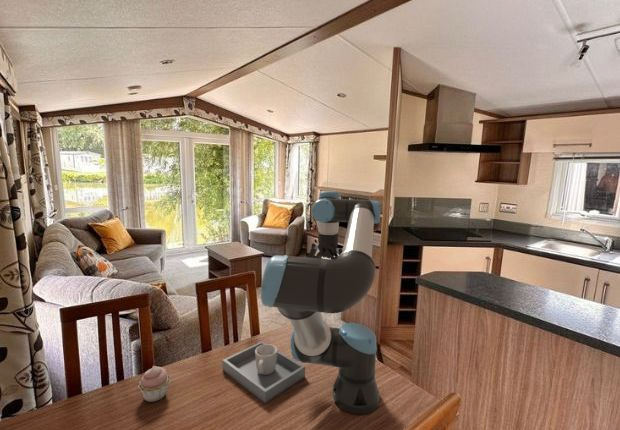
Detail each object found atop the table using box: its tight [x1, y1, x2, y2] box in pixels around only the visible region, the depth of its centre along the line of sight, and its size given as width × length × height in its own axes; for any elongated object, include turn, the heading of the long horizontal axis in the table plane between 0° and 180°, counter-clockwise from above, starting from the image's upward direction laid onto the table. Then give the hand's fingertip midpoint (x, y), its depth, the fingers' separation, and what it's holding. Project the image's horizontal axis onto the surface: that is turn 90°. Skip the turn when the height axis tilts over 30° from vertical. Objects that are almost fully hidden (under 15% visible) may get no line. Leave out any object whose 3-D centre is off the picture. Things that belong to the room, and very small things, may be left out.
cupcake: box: [137, 365, 172, 403], centre depth 99 cm, size 9×9×10 cm
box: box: [222, 341, 306, 404], centre depth 112 cm, size 24×18×4 cm
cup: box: [255, 343, 279, 375], centre depth 111 cm, size 11×8×8 cm
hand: (326, 288), depth 119 cm, fingers open, 13 cm apart
